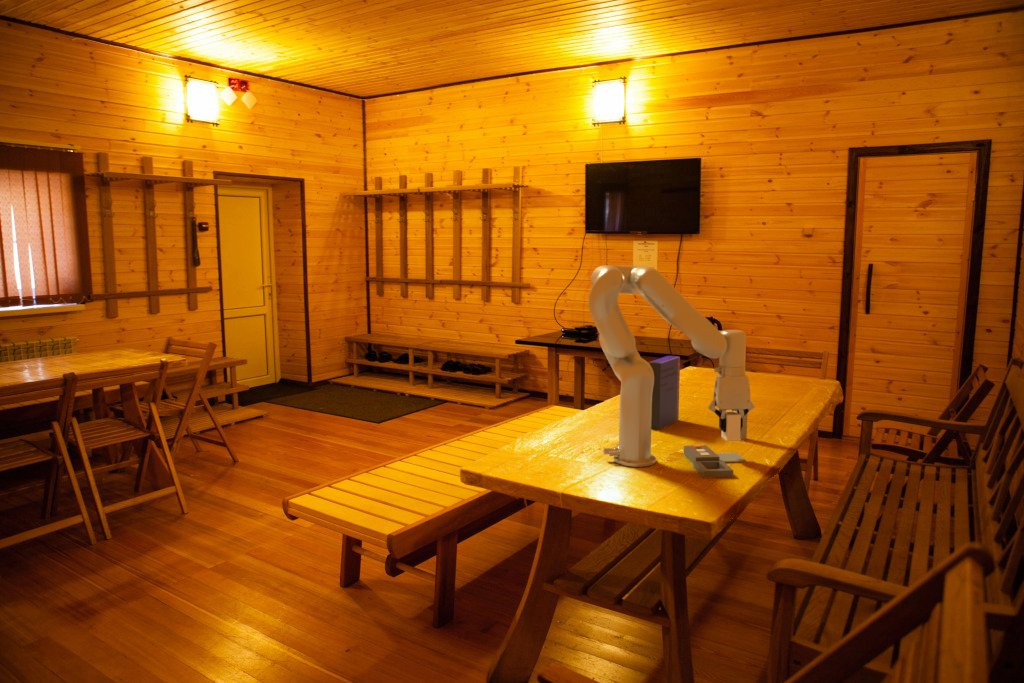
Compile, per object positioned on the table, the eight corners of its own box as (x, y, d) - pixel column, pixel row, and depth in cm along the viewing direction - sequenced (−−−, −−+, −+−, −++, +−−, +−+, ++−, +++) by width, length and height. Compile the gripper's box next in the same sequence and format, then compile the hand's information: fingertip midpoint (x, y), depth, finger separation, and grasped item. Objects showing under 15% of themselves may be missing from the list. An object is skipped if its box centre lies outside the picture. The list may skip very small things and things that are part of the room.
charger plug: (727, 441, 212) (727, 414, 211) (721, 436, 217) (721, 410, 216) (740, 440, 212) (740, 414, 211) (734, 436, 217) (734, 410, 216)
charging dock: (703, 477, 198) (704, 465, 198) (681, 455, 220) (681, 443, 219) (733, 477, 199) (733, 464, 198) (708, 454, 220) (708, 443, 220)
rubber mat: (720, 463, 212) (720, 461, 211) (711, 455, 219) (711, 453, 219) (746, 462, 212) (746, 460, 212) (736, 454, 220) (736, 452, 220)
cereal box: (666, 418, 265) (667, 355, 262) (678, 420, 262) (680, 356, 259) (646, 428, 251) (647, 361, 248) (659, 430, 248) (660, 363, 245)
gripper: (708, 374, 208) (707, 434, 210) (764, 372, 209) (762, 432, 211) (700, 369, 215) (699, 428, 218) (754, 368, 216) (752, 426, 219)
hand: (730, 429), depth 214 cm, fingers closed on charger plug, 4 cm apart
